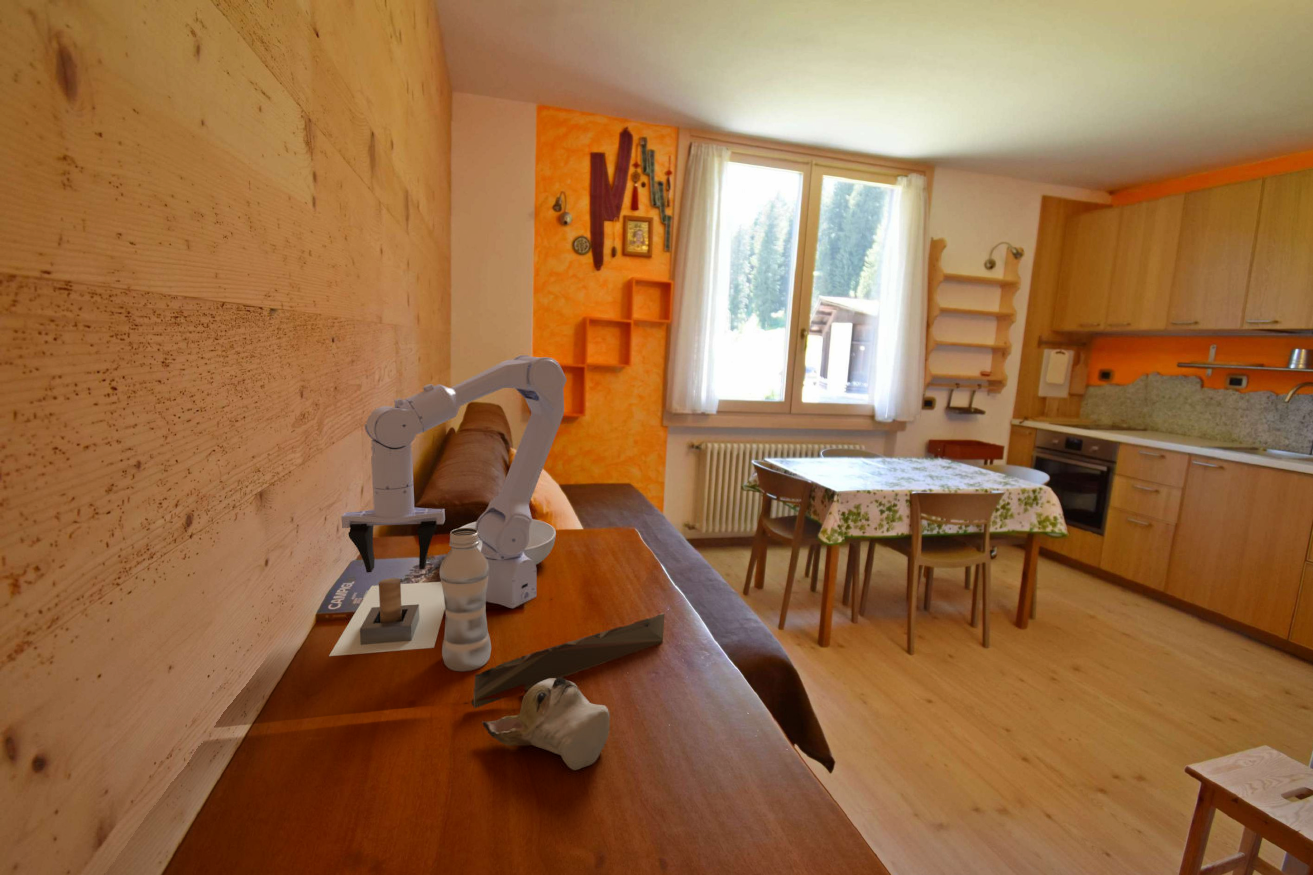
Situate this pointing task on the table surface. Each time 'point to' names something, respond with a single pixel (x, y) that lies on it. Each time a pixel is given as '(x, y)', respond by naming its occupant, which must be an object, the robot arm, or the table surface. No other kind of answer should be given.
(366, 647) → the cream board
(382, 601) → the oak dowel
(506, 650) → the table surface
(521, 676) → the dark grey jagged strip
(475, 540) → the plastic bottle
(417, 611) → the grey square tray
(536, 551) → the serving bowl
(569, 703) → the ceramic sculpture
